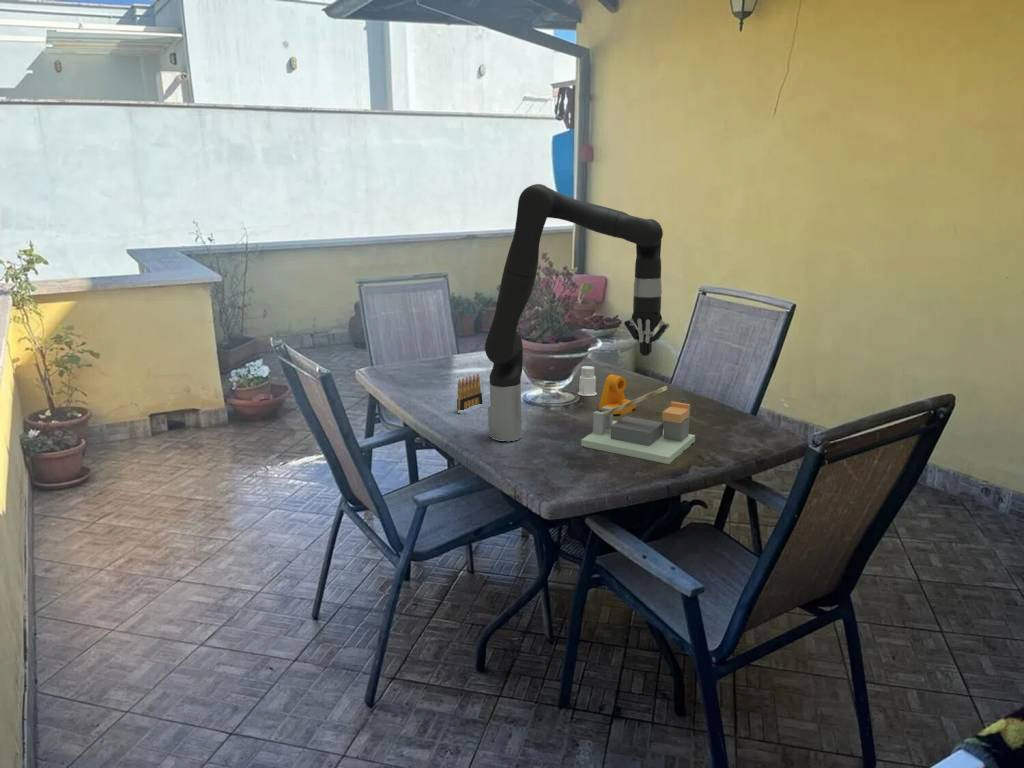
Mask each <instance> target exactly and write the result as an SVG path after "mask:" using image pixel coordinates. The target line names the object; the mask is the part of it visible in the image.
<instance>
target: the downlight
mask: <svg viewBox="0 0 1024 768" xmlns="http://www.w3.org/2000/svg"><path fill="white" fill-rule="evenodd" d="M596 380H597V377H596V376H595V367H594V366H589V365H585V366H584V365H583V366H581V374H580V376H579V381H578V383H579V388H578V389H579V391H577V395H579V396H582V397H593V396H596V395H598V393H597V392H596V387H597V386H596V383H597V381H596Z"/></svg>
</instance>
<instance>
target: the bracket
mask: <svg viewBox="0 0 1024 768" xmlns="http://www.w3.org/2000/svg"><path fill="white" fill-rule="evenodd" d="M626 387H627V380H626V378H625V377H624V376H620V375H617V374H611V373H610V374H609V375H608V376H606V379H605V381H604V385H603V389H602V393H601V397H600V400H599V404H598V407H599V408H598V410H599V411H602V407H604V406H605V407H611V408H615V407H618V406H620V405H622V404H625V403H627V402H629V401H632V400H630V399H627V398H626V395H625V389H626ZM636 407H637V403H635V404H633V405H631V406H628V407H626V408H624V409H621V410H619V411H617V412H614V413H613V415H620V416H622V415H625V414H629V413H632V412H633V410H634V409H636Z"/></svg>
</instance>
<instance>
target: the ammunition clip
mask: <svg viewBox="0 0 1024 768" xmlns="http://www.w3.org/2000/svg"><path fill="white" fill-rule="evenodd" d="M480 381H481V377H480V375H479V373H476V375H475V374H473V376H471V375H470V376H469V378H468V376H466V377H465V378H464V377H462V380H461V379H460V378H459V379H458V383H457V398H456V410H457V409H458V410H464V409H467V408H469V407H471V406H474V405H478V404H483V393H482V392H481V391H482V390H481V389H482V388H481V387H482V386H481V382H480Z"/></svg>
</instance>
